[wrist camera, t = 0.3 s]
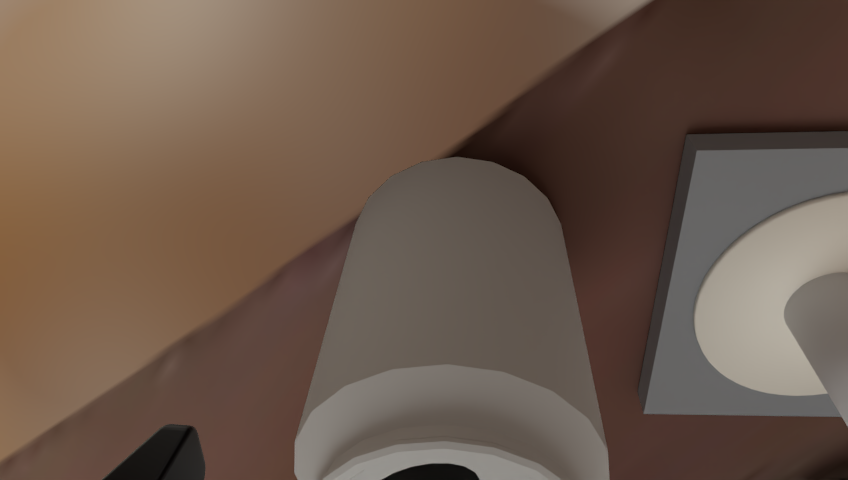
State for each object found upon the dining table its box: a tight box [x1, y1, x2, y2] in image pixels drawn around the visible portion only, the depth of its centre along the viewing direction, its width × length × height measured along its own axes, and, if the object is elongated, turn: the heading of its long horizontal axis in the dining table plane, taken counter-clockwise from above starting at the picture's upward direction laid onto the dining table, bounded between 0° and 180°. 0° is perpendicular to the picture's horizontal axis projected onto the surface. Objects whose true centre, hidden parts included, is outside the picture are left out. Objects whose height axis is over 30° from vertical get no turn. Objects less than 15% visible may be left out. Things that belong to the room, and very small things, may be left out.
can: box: [294, 157, 609, 480], centre depth 19 cm, size 8×8×12 cm
